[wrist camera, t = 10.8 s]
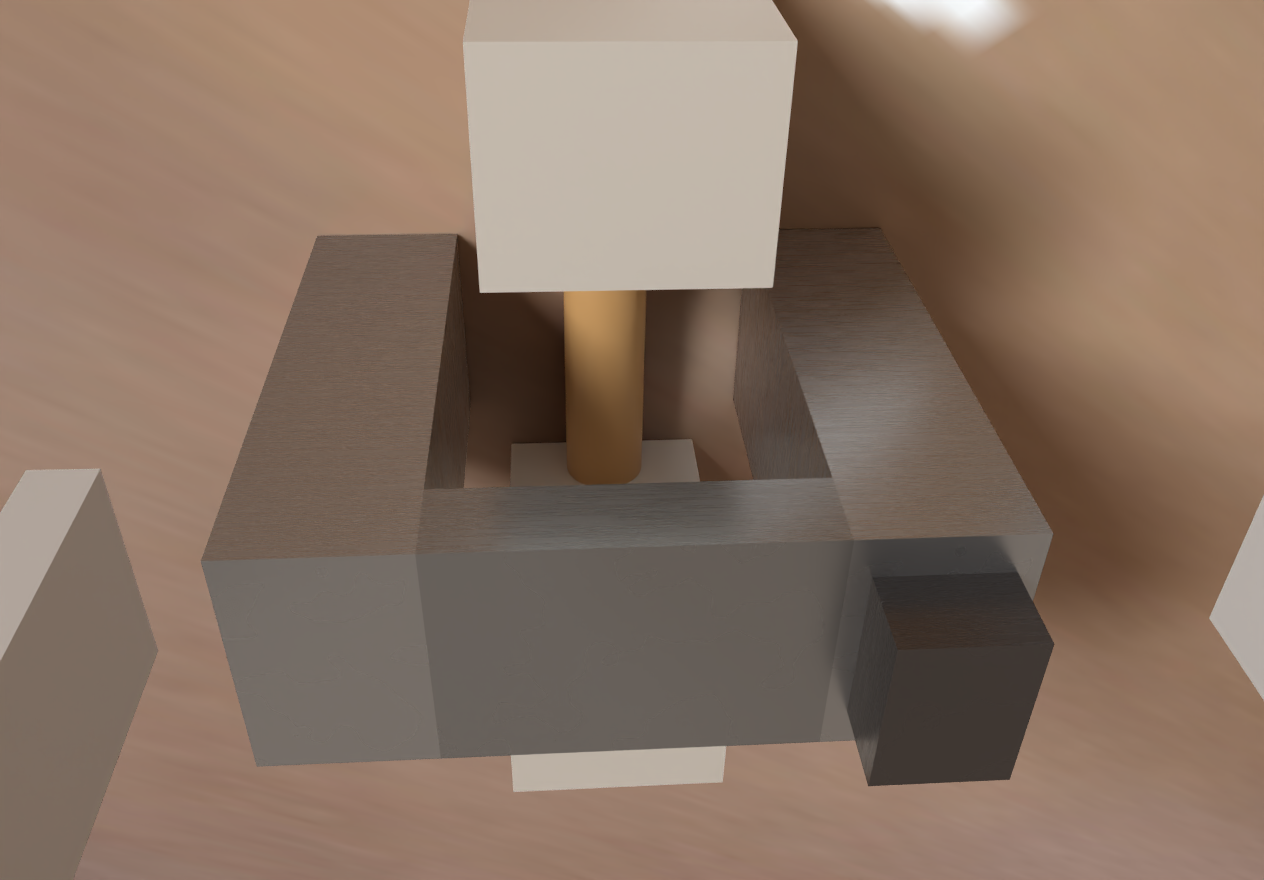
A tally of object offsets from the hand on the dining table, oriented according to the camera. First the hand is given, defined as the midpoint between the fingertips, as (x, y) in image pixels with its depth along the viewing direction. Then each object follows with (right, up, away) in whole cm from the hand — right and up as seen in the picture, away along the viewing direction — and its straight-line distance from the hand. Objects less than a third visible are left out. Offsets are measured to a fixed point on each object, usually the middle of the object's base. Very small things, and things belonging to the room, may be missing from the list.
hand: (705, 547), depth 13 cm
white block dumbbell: (-2, +6, +21) cm, 22 cm away
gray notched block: (-2, +5, +22) cm, 23 cm away
